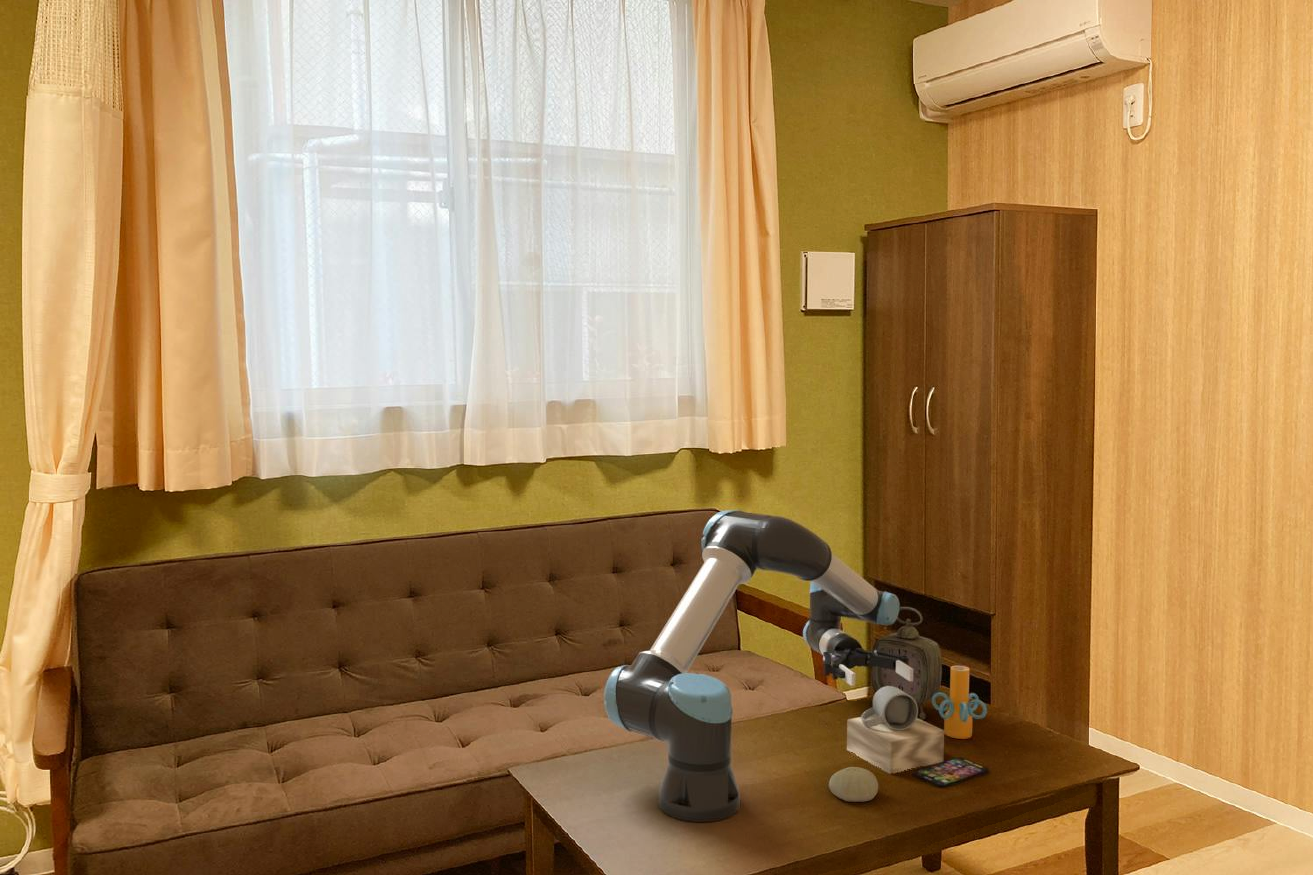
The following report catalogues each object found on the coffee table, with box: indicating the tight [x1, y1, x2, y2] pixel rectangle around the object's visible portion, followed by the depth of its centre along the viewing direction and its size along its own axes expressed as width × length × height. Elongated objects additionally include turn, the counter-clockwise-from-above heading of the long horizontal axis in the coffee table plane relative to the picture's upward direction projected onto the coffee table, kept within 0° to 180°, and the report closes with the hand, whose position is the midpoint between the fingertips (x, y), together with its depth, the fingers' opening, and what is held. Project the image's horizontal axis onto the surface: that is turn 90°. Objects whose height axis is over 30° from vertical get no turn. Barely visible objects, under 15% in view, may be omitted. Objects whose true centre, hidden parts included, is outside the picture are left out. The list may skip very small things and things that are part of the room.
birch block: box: [846, 714, 945, 775], centre depth 215 cm, size 14×14×7 cm
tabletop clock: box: [870, 606, 943, 721], centre depth 241 cm, size 14×9×25 cm, turn 50°
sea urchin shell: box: [828, 766, 880, 803], centre depth 196 cm, size 9×8×8 cm
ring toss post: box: [931, 665, 988, 740], centre depth 227 cm, size 12×10×15 cm
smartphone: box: [912, 756, 990, 789], centre depth 206 cm, size 8×1×15 cm
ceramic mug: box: [860, 686, 919, 730], centre depth 215 cm, size 11×8×8 cm
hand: (882, 677), depth 220 cm, fingers open, 13 cm apart
